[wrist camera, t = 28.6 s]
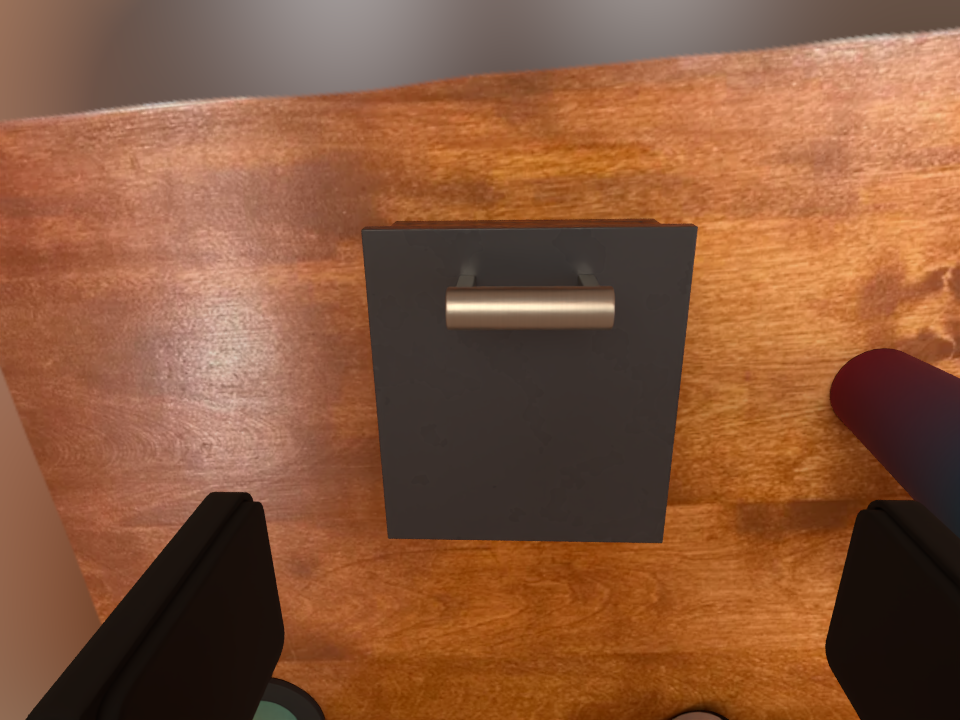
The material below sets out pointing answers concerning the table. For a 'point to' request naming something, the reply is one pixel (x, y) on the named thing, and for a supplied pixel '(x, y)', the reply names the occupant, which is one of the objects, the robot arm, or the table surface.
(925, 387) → the cup
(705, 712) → the headphones
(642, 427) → the lid
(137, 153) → the table surface
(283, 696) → the coaster
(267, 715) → the bottle
